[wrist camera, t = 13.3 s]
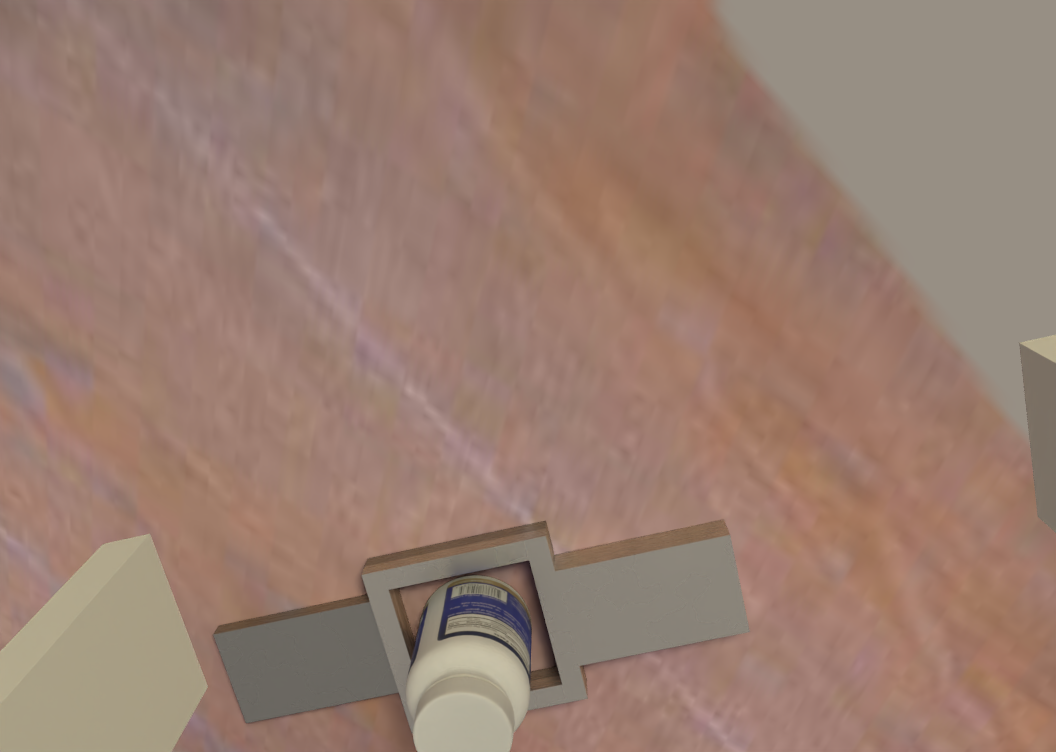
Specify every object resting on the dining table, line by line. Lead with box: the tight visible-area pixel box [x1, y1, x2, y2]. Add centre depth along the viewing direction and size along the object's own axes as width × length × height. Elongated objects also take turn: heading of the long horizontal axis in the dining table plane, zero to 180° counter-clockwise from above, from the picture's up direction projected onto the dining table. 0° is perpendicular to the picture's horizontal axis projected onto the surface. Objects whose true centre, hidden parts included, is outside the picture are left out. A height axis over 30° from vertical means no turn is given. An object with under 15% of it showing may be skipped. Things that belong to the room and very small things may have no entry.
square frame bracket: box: [213, 520, 750, 733], centre depth 47 cm, size 25×9×2 cm, turn 103°
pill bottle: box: [406, 575, 532, 752], centre depth 43 cm, size 5×5×9 cm
